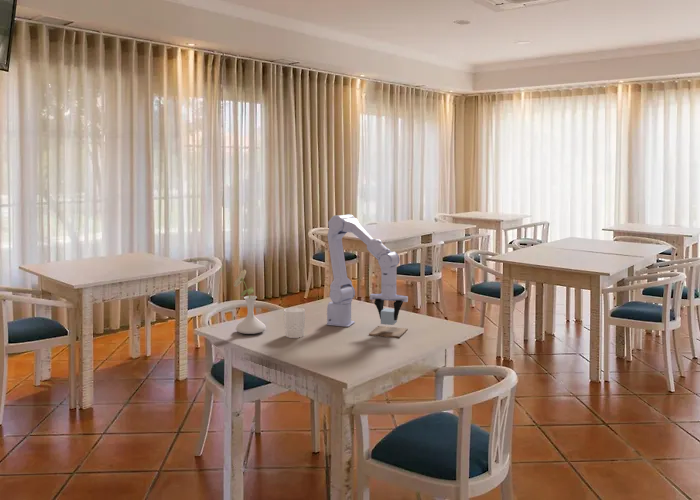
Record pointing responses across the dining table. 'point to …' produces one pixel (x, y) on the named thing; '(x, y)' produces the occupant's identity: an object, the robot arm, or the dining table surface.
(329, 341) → the dining table surface
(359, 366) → the dining table surface
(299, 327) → the white cup
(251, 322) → the flower in vase
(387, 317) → the blue cube
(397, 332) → the walnut board
